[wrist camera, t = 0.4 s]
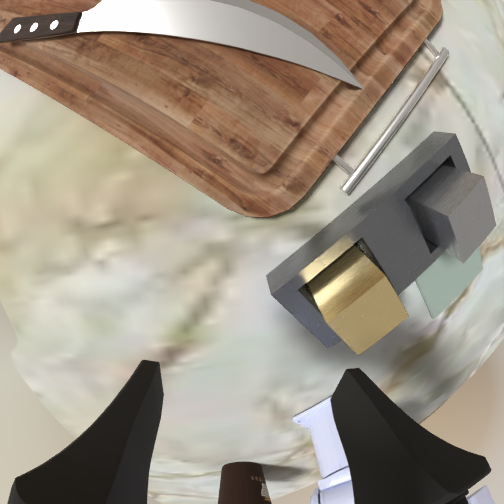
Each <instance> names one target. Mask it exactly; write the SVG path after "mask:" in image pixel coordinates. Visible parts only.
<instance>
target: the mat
mask: <svg viewBox="0 0 504 504" xmlns="http://www.w3.org/2000/svg"><path fill="white" fill-rule="evenodd" d="M482 269H483V267H482V261H481V256H480V252H479V247H478V248H477V249H476V250H475V251H474V253H473V254H472V255H471V256H470V257H469V258H468V259H467V260H466V262H465V263H464V264H463V263H462V262H460V261H459V260H457V259H456V258H454V257H453V256H452V255H450V254H449V253H447V252H446V251H445V252H444V253H443V254H442V255H441V256H440V257H439V258H438V259H437V260H436V261H435V262H434V263H433V264H432V265H431V266H429V267H428V268H427V269H426V270H425V271H424V272H423V273H422V274H421V275H420V276H419V277H418V278H417V279H416V280H415V282H416V284H417V286H418V288H419V290H420V292H421V294H422V297H423V299H424V301H425V303H426V306H427V308H428V310H429V312H430V315H431V317H432V318H433V319H435V318H436V317H437V316H438V315H439V314H440V313H441V312H442V311H443V310H444V309H445V308H446V307H447V306H448V305H449V304H450V303H451V302H452V301H453V300H454V299H455V298H456V297H457V296H458V295H459V294H460V293H461V292H462V291H463V290H464V289H465V288H466V287H467V286H468V285H469V284H470V283H471V282H472V281H473V279H474V278H475V277H476V276H477V275H478V274H479V273H480V272H481V270H482Z"/></svg>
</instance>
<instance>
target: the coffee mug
mask: <svg viewBox="0 0 504 504" xmlns="http://www.w3.org/2000/svg"><path fill="white" fill-rule="evenodd" d="M218 504H271V500H270V497H269V493H268V489H267V486H266V482H265V478H264V475H263V471H262V467H261V465H260V464H257V463H253V462H235V463H229V464H226V465H224V466H223V467H222V473H221V481H220V490H219V499H218Z"/></svg>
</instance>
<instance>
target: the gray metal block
mask: <svg viewBox="0 0 504 504" xmlns="http://www.w3.org/2000/svg"><path fill="white" fill-rule="evenodd" d="M405 200H406V202H407V204H408V206H409V208H410V210H411V212H412V214H413V216H414V218H415V220H416V222H417V225H418V227H419V229H420V231H421V233H422V235H423V237H425V238H426V239H428V240H429V241H431V242H432V243H434V244H435V245H437V246H438V247H440V248H441V249H443V250H444V251H446V252H447V253H449V254H450V255H452V256H453V257H454V258H456V259H457V260H459V261H460V262H462V263H463V264H464V263H465V262H466V260H467V259H468V258H469V257H470V256H471V255H472V254H473V253H474V251H475V250H476V249H477V248H478V247H479V246H480V245H481V243H482V242H483V241H484V240H485V239H486V237H487V236H488V235H489V234H490V232H491V231H492V230H493V229H494V227H495V226H496V223H495V218H494V213H493V209H492V205H491V201H490V197H489V193H488V189H487V186H486V182H485V179H484V176H481V175H478V174H474V173H471V172H467V171H464V170H460V169H457V168H453V167H449V166H445V165H440V166H439V167H438V168H437V169H436V170H435V171H434V172H433V173H432V174H431V175H430V176H429V177H428V178H427V179H426V180H424V181H423V182H422V183H421V184H420V185H419V186H418V187H417V188H416V189H415V190H414V191H413V192H412V193H411V194H410V195H409V196H408V197H406V198H405Z"/></svg>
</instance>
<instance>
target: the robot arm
mask: <svg viewBox="0 0 504 504" xmlns="http://www.w3.org/2000/svg"><path fill="white" fill-rule="evenodd" d="M163 396H164V393H163V386H162V379H161V372H160V364H159V362H154V361H148V360H142V361H141V362H140V364H139V365H138V367H137V368H136V370H135V371H134V373H133V374H132V376H131V377H130V379H129V380H128V382H127V383H126V384H125V386H124V387H123V388H122V390H121V391H120V392H119V394H118V395H117V396H116V397H115V399H114V400H113V401H112V402H111V404H110V405H109V406H108V407H107V408H106V409H105V411H104V412H103V413H102V414H101V415H100V416H99V417H98V419H97V420H96V421H95V422H94V423H93V424H92V425H91V426H90V427H89V428H88V429H87V430H86V431H85V432H84V433H83V434H81V435H80V436H79V437H78V438H77V439H76V440H75V441H74V442H72V443H71V444H70V445H69V446H67V447H66V448H65V449H64V450H62V451H61V452H60V453H58V454H57V455H55V456H54V457H52V458H51V459H49V460H48V461H46V462H45V463H43V464H42V465H40V466H38V467H36V468H34V469H33V470H31V471H29V472H27V473H25V474H23V475H21V476H18V477H16V478H15V481H14V483H13V485H12V488H11V492H10V496H9V500H8V504H147V491H148V478H149V469H150V463H151V458H152V454H153V449H154V445H155V440H156V436H157V432H158V428H159V423H160V419H161V412H162V404H163ZM293 422H295V423H297V424H299V425H302V426H304V427H306V428H308V429H310V433H311V437H312V441H313V445H314V449H315V453H316V457H317V461H318V465H319V469H320V473H321V477H322V480H320V481H318V485H319V488H316V489H315V490H314V492H313V494H312V495H311V498H310V504H494V502H493V499H492V497H491V495H490V492H489V490H488V488H487V486H484V487H482V488H480V489H479V490H477V491H476V492H474V493H473V494H472V495H470V496H468V497H467V498H466V497H465V496H466V495H467V494H468V493H469V492H468V489H469V488H471V487H472V486H473V485H475V484H476V483H477V482H479V481H480V480H481V479H483V478H484V477H485V476H486V475H488V474H489V473H490V472H491V468H490V466H489V464H488V462H487V460H486V458H485V457H484V456H481V455H477V454H474V453H471V452H468V451H465V450H463V449H460V448H458V447H455V446H453V445H451V444H449V443H447V442H446V441H444V440H442V439H440V438H439V437H437V436H435V435H434V434H432V433H430V432H429V431H427V430H426V429H425V428H423V427H422V426H420V425H419V424H418V423H416V422H415V421H414V420H413V419H411V418H410V417H409V416H408V415H407V414H406V413H404V412H403V411H402V410H401V409H400V408H399V407H398V406H397V405H396V404H395V403H394V402H393V401H391V400H390V399H389V398H388V397H387V396H386V395H385V394H384V393H383V392H382V391H381V390H380V389H379V388H378V387H377V385H376V384H375V383H374V382H373V381H372V380H371V379H370V378H369V377H368V376H367V375H366V374H365V373H364V372H363V371H362V370H361V369H360V368H355V369H346V371H345V373H344V375H343V377H342V379H341V380H340V382H339V384H338V386H337V388H336V390H335V392H334V393H333V395H332V396H331V397H329V398H328V399H326V400H324V401H322V402H321V403H319V404H317V405H315V406H314V407H312V408H310V409H308V410H306V411H304V412H302V413H301V414H299V415H297V416H295V417H293Z"/></svg>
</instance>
